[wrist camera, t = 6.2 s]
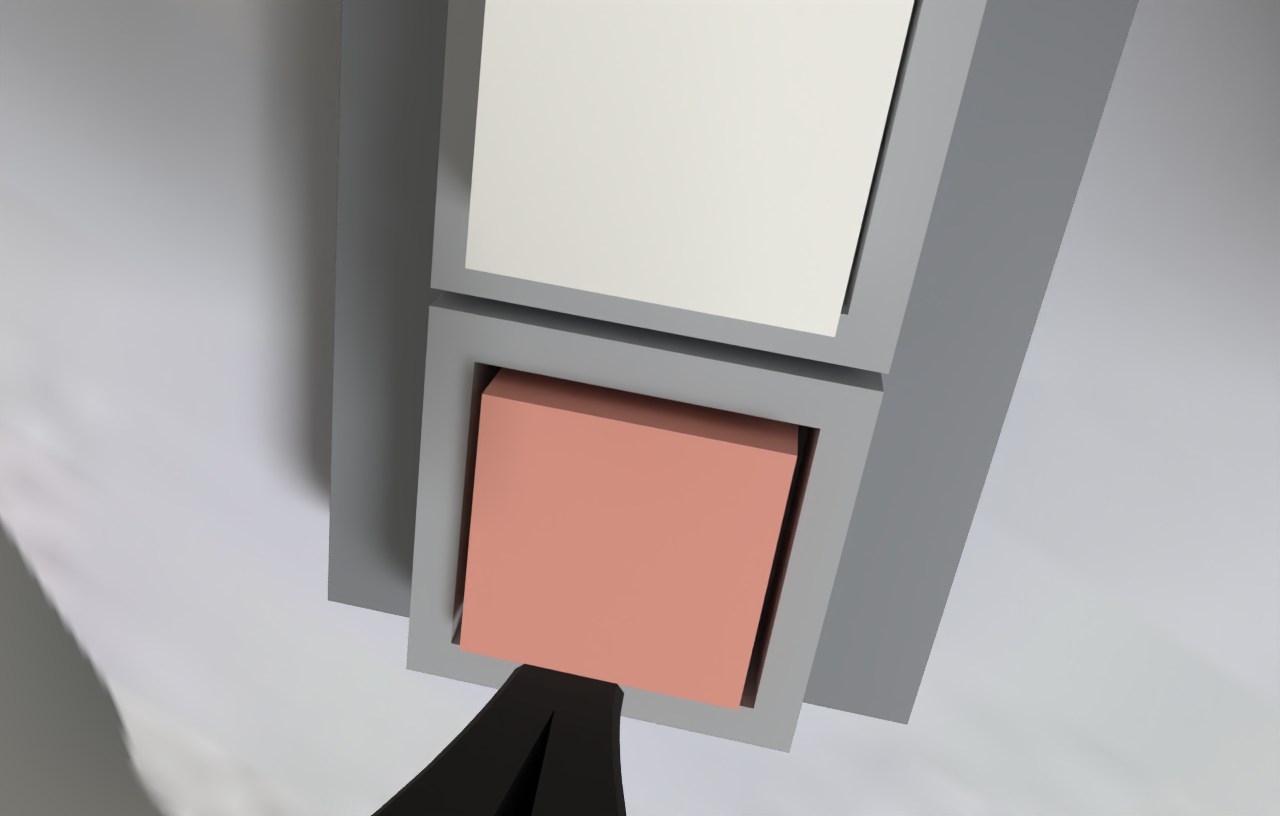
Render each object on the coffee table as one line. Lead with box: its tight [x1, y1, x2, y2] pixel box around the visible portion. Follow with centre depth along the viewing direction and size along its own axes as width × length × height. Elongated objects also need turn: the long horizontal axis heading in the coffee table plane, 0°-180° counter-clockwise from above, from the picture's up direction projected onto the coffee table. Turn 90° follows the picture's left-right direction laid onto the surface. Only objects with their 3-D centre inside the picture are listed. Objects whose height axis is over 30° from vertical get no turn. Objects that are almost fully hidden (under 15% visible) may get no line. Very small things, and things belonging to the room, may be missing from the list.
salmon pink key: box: [459, 367, 798, 710], centre depth 18 cm, size 5×5×2 cm
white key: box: [465, 0, 914, 337], centre depth 14 cm, size 5×5×2 cm
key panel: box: [328, 0, 1138, 753], centre depth 17 cm, size 12×23×4 cm, turn 172°
